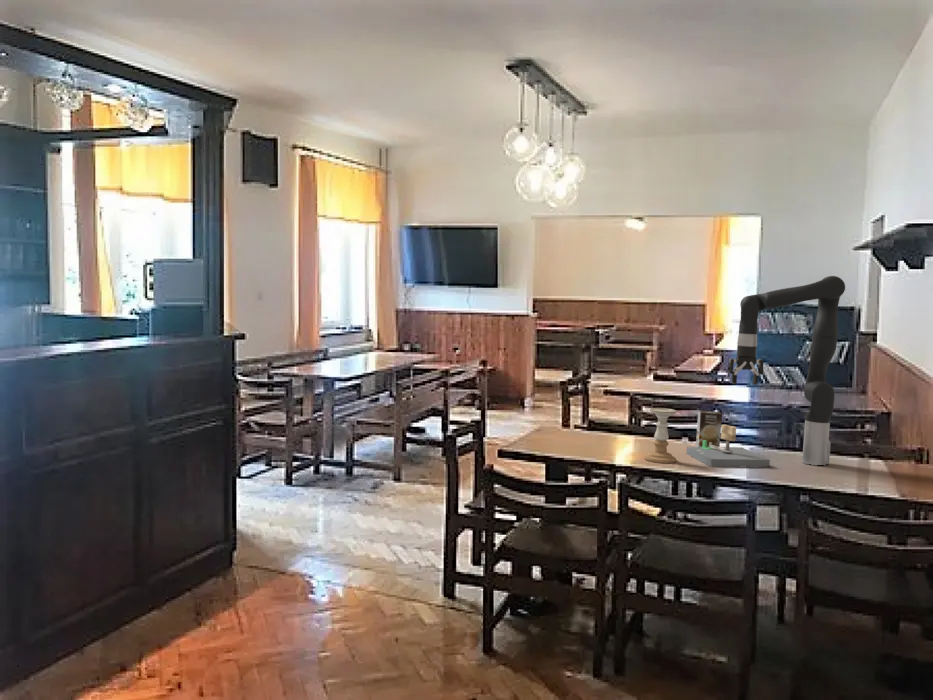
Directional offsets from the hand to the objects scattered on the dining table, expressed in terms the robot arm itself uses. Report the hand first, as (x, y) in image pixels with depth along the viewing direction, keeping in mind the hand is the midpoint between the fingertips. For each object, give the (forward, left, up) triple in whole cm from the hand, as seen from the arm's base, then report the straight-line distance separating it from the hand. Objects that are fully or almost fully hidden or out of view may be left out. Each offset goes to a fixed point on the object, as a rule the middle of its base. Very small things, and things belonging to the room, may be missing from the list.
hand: (744, 384), depth 353 cm
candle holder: (+37, +7, -30) cm, 48 cm away
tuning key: (+10, +4, -27) cm, 29 cm away
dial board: (+9, +7, -30) cm, 32 cm away
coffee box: (+7, -16, -30) cm, 35 cm away
